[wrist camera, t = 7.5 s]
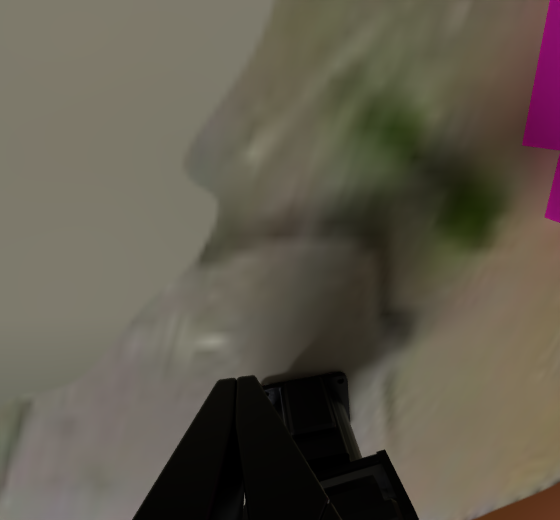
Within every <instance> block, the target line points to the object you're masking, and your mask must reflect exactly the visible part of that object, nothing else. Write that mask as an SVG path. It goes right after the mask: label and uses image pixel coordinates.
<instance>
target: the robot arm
mask: <svg viewBox="0 0 560 520" xmlns="http://www.w3.org/2000/svg"><path fill="white" fill-rule="evenodd" d="M340 378H342V379H340ZM338 379H340V380H338ZM265 392H267V393H265ZM376 453H377V454H374V455H371V456H367V457H364V458H362V456H361V453H360V450H359V447H358V444H357V442H356V439H355V436H354V433H353V430H352V427H351V425H350V414H349V398H348V381H347V377H346V375H345V373H343V372H336V373H330V374H325V375H320V376H314V377H309V378H303V379H298V380H292V381H287V382H281V383H276V384H270V385H265V386H261V385H260V383H259V381H258V380H257V378H256V377H255V376H254V375H250V376H242V377H238V378H237V380H236V379H235V378H227V379H220V380H218V381H217V383H216V384H215V386H214V387H213V389H212V391H211V392H210V394H209V396H208V397H207V399H206V400H205V402H204V404H203V405H202V407H201V409H200V410H199V412H198V413H197V415H196V417H195V418H194V420H193V422H192V423H191V425H190V426H189V428H188V430H187V431H186V433H185V435H184V436H183V438H182V439H181V441H180V443H179V444H178V446H177V448H176V449H175V451H174V452H173V454H172V456H171V457H170V459H169V461H168V462H167V464H166V465H165V467H164V469H163V470H162V472H161V474H160V475H159V477H158V478H157V480H156V482H155V483H154V485H153V487H152V488H151V490H150V491H149V493H148V495H147V496H146V498H145V500H144V501H143V503H142V504H141V506H140V508H139V509H138V511H137V513H136V514H135V516H134V517H133V519H132V520H419V519H418V516H417V514H416V512H415V510H414V507H413V505H412V503H411V501H410V499H409V497H408V495H407V493H406V491H405V489H404V487H403V485H402V483H401V481H400V479H399V477H398V475H397V473H396V471H395V469H394V467H393V465H392V463H391V461H390V459H389V457H388V455H387V453H386V451H385V450H381V451H378V452H376ZM244 493H245V499H246V502H245V505H244ZM243 507H244V509H243Z"/></svg>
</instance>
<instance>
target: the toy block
mask: <svg viewBox="0 0 560 520" xmlns="http://www.w3.org/2000/svg"><path fill="white" fill-rule="evenodd" d="M522 145H523V146H531V147H538V148H545V149H553V150H560V0H550V2H549V7H548V13H547V18H546V23H545V28H544V33H543V39H542V44H541V49H540V54H539V60H538V65H537V70H536V75H535V80H534V86H533V91H532V96H531V101H530V106H529V112H528V117H527V122H526V127H525V133H524V138H523V143H522ZM545 218H548V219H551V220H553V221H556V222H559V223H560V154H559V159H558V163H557V167H556V171H555V175H554V180H553V184H552V188H551V192H550V196H549V201H548V205H547V209H546V213H545Z"/></svg>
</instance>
